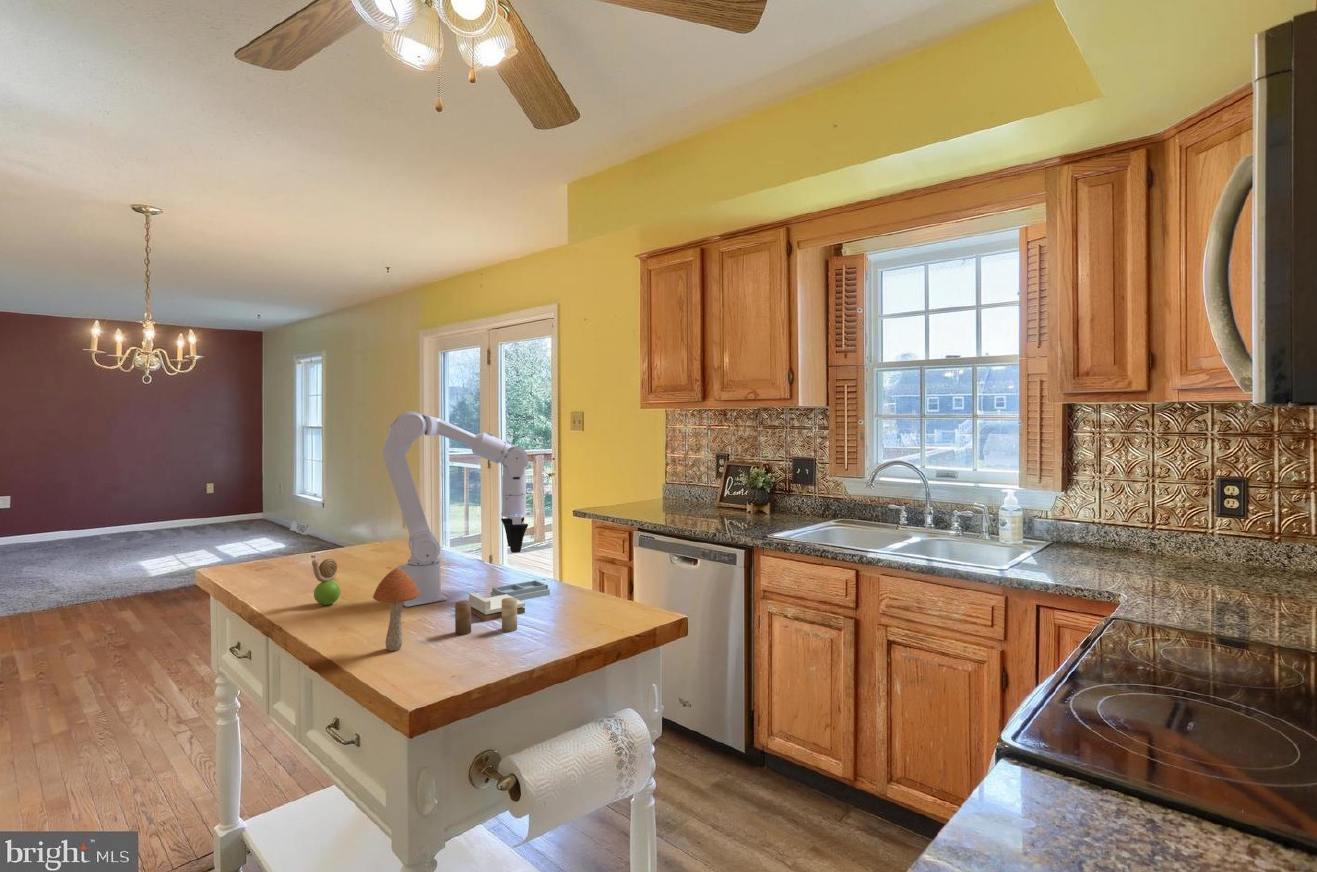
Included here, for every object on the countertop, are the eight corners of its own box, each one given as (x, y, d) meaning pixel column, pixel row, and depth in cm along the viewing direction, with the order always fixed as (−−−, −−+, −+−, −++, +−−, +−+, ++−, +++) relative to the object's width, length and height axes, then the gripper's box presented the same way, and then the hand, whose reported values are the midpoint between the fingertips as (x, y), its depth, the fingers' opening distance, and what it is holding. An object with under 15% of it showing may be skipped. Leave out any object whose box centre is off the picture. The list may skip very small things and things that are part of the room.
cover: (485, 614, 135) (485, 602, 135) (468, 604, 142) (468, 593, 142) (524, 606, 141) (524, 594, 141) (506, 597, 148) (506, 586, 148)
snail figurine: (304, 607, 145) (303, 554, 144) (328, 600, 151) (327, 549, 150) (322, 610, 143) (321, 556, 142) (346, 602, 149) (345, 550, 148)
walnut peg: (458, 636, 126) (458, 605, 126) (453, 632, 128) (452, 602, 128) (473, 632, 128) (473, 602, 127) (467, 629, 130) (467, 599, 130)
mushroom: (429, 643, 121) (428, 564, 121) (399, 658, 114) (398, 574, 113) (395, 639, 124) (394, 561, 124) (363, 653, 116) (362, 571, 116)
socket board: (503, 603, 148) (503, 593, 148) (490, 596, 153) (490, 587, 153) (549, 594, 155) (549, 585, 155) (535, 588, 161) (535, 579, 161)
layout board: (485, 620, 135) (485, 615, 135) (468, 610, 142) (468, 606, 142) (524, 612, 141) (524, 607, 141) (506, 603, 148) (506, 598, 148)
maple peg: (505, 632, 128) (505, 602, 127) (499, 628, 130) (499, 599, 130) (519, 629, 129) (519, 600, 129) (513, 625, 132) (512, 596, 132)
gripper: (534, 497, 153) (534, 554, 153) (527, 490, 167) (527, 542, 167) (503, 498, 151) (503, 555, 151) (499, 491, 165) (499, 544, 165)
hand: (514, 549), depth 159 cm, fingers open, 7 cm apart
